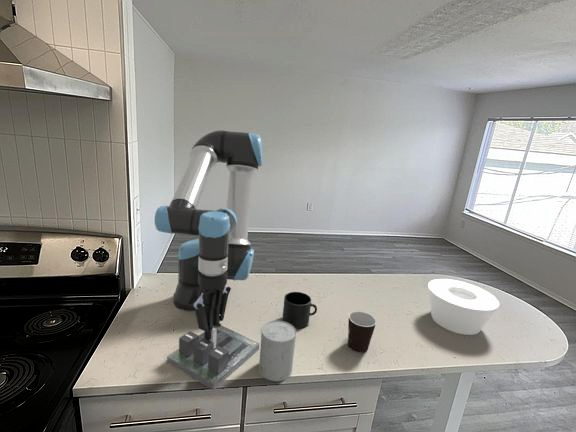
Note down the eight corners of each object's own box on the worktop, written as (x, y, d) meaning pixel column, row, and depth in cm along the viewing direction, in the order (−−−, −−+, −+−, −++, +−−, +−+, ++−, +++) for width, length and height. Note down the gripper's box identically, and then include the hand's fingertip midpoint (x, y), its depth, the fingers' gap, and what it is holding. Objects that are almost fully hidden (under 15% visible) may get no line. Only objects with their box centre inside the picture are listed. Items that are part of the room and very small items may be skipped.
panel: (167, 362, 91) (167, 356, 90) (216, 328, 108) (217, 323, 107) (213, 390, 83) (213, 383, 82) (259, 349, 100) (259, 343, 99)
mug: (318, 329, 112) (321, 305, 110) (283, 328, 111) (285, 305, 109) (313, 314, 121) (315, 292, 119) (281, 313, 120) (283, 291, 118)
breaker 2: (193, 359, 90) (193, 344, 88) (204, 351, 93) (204, 337, 92) (202, 364, 88) (203, 349, 87) (213, 356, 91) (213, 342, 90)
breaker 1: (179, 351, 92) (179, 337, 91) (189, 344, 95) (190, 330, 94) (187, 356, 90) (188, 342, 89) (198, 349, 94) (198, 335, 93)
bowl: (486, 316, 132) (494, 289, 129) (495, 349, 110) (504, 318, 107) (423, 299, 141) (429, 273, 138) (420, 326, 120) (426, 297, 117)
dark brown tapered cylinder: (366, 358, 100) (371, 330, 97) (340, 347, 104) (344, 319, 101) (377, 340, 109) (382, 313, 107) (353, 330, 114) (357, 304, 111)
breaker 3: (208, 368, 87) (208, 353, 86) (218, 360, 90) (218, 345, 89) (218, 374, 85) (218, 358, 84) (228, 365, 89) (228, 350, 87)
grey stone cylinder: (258, 356, 96) (261, 320, 93) (290, 357, 97) (294, 321, 94) (258, 381, 87) (261, 341, 84) (294, 381, 88) (298, 342, 85)
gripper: (205, 283, 79) (203, 365, 85) (239, 266, 90) (235, 340, 96) (183, 274, 83) (183, 353, 89) (219, 259, 94) (216, 330, 100)
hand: (210, 346), depth 92 cm, fingers closed
